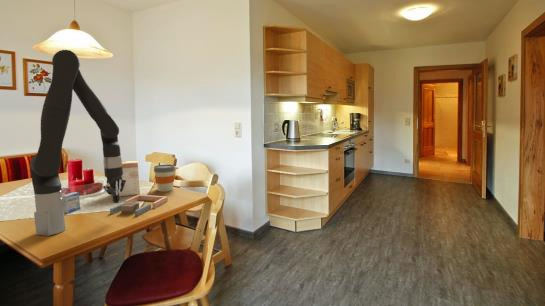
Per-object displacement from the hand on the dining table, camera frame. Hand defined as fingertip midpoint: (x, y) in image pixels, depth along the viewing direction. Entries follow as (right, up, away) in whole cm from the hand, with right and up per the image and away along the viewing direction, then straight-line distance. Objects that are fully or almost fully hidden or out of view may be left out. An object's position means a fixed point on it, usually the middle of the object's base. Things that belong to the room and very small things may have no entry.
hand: (116, 202), depth 145 cm
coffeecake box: (-15, -2, +41) cm, 43 cm away
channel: (+2, -6, +11) cm, 13 cm away
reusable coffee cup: (+5, 0, +52) cm, 52 cm away
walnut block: (+2, -6, +10) cm, 12 cm away
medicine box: (-29, -6, +11) cm, 32 cm away
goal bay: (+4, -4, +23) cm, 24 cm away
